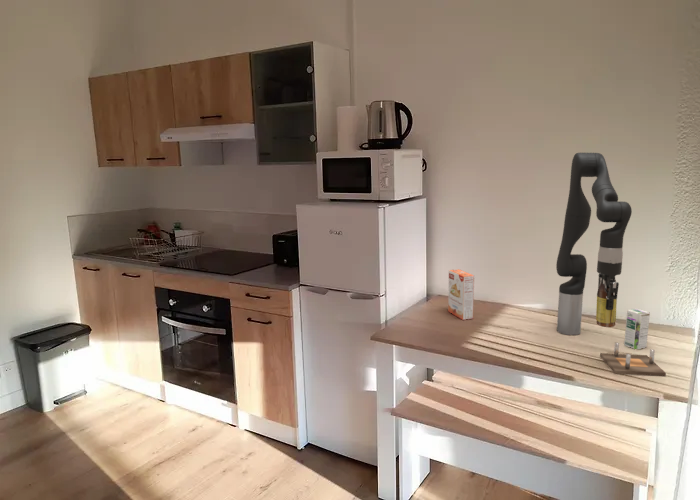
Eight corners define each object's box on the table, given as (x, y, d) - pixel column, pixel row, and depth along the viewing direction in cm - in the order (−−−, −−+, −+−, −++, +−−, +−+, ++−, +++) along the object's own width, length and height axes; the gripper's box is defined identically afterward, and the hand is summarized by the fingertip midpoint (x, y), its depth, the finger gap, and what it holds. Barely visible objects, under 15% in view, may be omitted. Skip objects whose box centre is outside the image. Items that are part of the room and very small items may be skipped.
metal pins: (613, 355, 189) (614, 342, 188) (646, 356, 187) (647, 343, 187) (625, 369, 177) (627, 355, 176) (661, 370, 175) (662, 356, 174)
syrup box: (623, 345, 202) (626, 309, 200) (634, 343, 204) (637, 307, 202) (635, 350, 197) (639, 313, 195) (647, 348, 199) (650, 311, 197)
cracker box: (447, 312, 249) (448, 269, 245) (458, 310, 250) (459, 268, 247) (461, 320, 235) (463, 275, 232) (473, 319, 237) (474, 274, 234)
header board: (599, 356, 192) (600, 352, 191) (646, 358, 189) (646, 354, 189) (614, 373, 176) (615, 370, 176) (665, 376, 174) (665, 372, 173)
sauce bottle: (609, 322, 184) (613, 267, 181) (619, 327, 178) (623, 271, 174) (591, 322, 184) (595, 267, 180) (600, 328, 178) (604, 271, 174)
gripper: (592, 255, 184) (588, 300, 187) (604, 263, 170) (600, 312, 173) (614, 256, 183) (611, 301, 186) (629, 264, 169) (624, 313, 172)
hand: (606, 306), depth 180 cm, fingers closed on sauce bottle, 6 cm apart
